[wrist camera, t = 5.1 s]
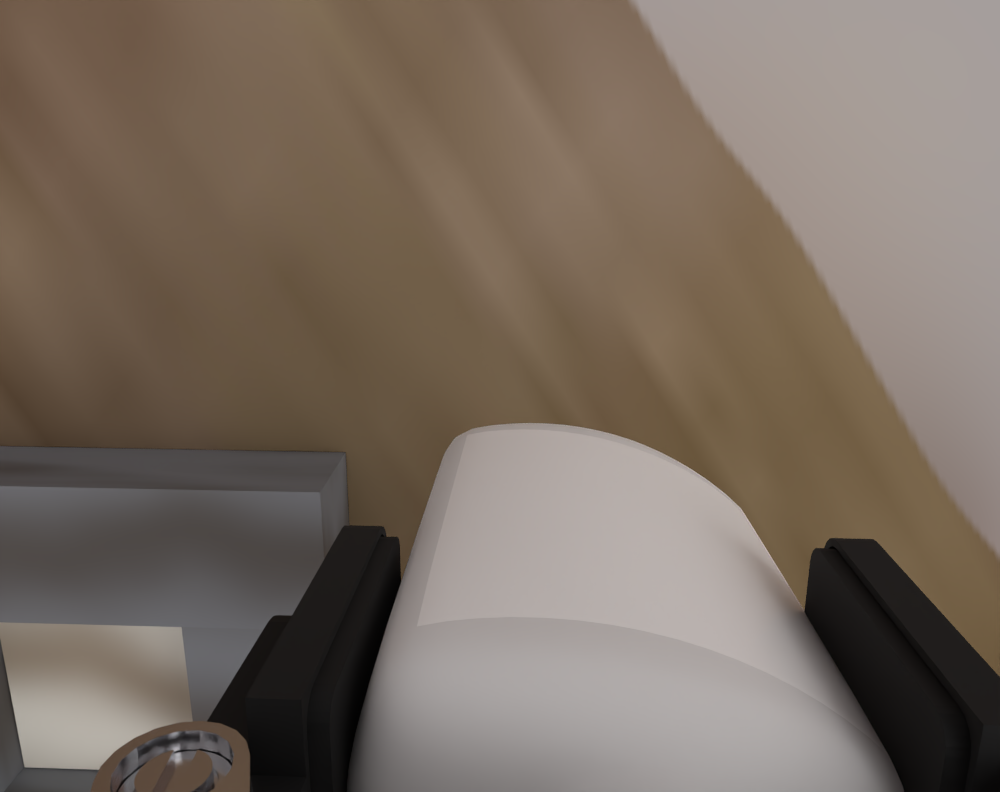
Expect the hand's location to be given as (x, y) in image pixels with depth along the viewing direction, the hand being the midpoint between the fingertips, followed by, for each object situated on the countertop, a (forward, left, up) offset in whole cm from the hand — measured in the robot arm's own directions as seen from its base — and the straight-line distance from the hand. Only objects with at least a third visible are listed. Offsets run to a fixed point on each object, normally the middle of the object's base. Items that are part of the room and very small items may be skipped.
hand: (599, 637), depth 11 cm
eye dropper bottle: (0, 0, -4) cm, 4 cm away
